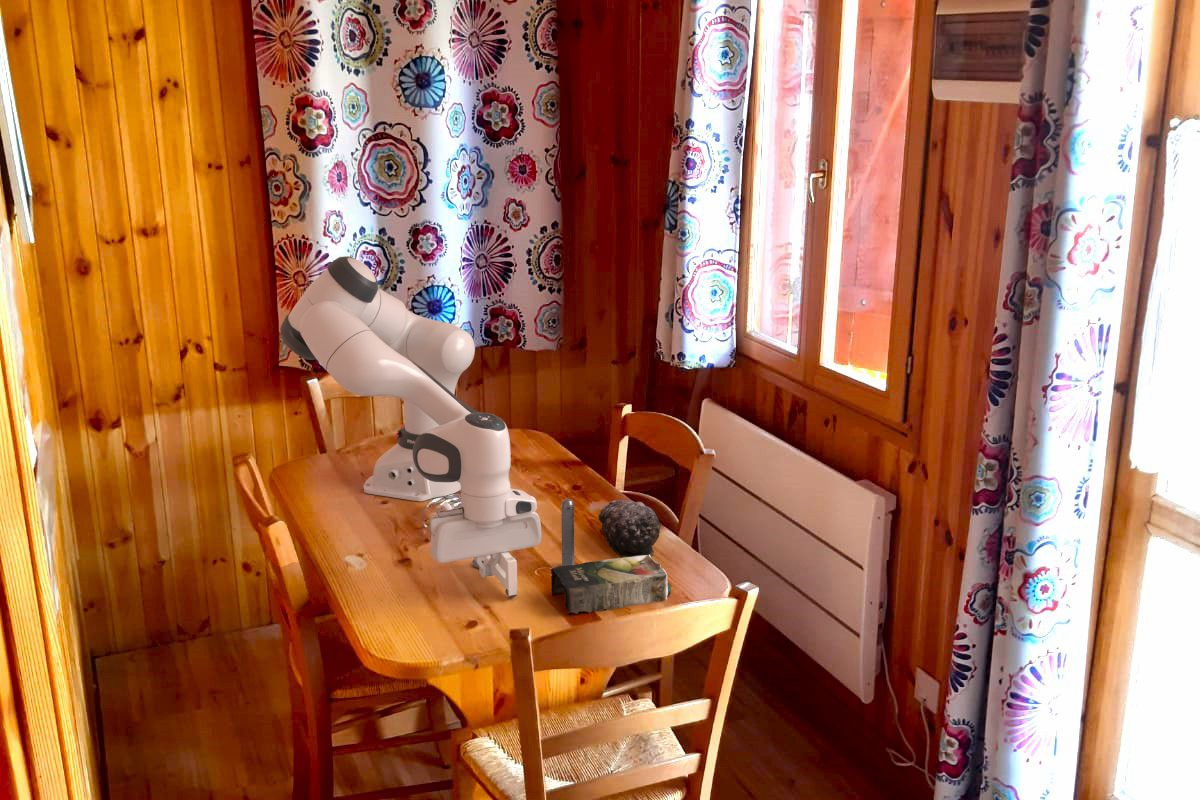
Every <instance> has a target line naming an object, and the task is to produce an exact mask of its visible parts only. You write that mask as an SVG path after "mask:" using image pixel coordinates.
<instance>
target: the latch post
mask: <svg viewBox="0 0 1200 800" xmlns="http://www.w3.org/2000/svg"><path fill="white" fill-rule="evenodd" d="M560 507H561V515H560V516H561V517H560V518H561V566H566V565H575V503H574V501H573V499H571V498H565V499H563V500H562V502H561V505H560Z"/></svg>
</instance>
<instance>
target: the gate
mask: <svg viewBox="0 0 1200 800" xmlns="http://www.w3.org/2000/svg"><path fill="white" fill-rule="evenodd" d="M490 557H491V556H490V555H485V556H484V561H483V562H484V565H485V564H487V563H488V561H489V559H490ZM517 562H518V561H517V560H516V558H515V557H513V556H512V554H511V553H510V551H507V552H501V553H500V559H499V561H498V562H497V564H496V566H495V567H494V575H493V576H494V578H496V579H497V580H498V582H499V583H500V584H501V585H502V586H503V587H504V589H505V595H506V596H507V598H510V599H514V598H516V597H517V596H518V594H519V590H518V563H517Z"/></svg>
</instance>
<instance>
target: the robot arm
mask: <svg viewBox="0 0 1200 800" xmlns="http://www.w3.org/2000/svg"><path fill="white" fill-rule="evenodd" d="M279 331H280V336H281V337H280V338H281V339H282V342H283V343H284V344H285V345H286V347H287V348H288V349H290V351H291V352H293V354H296V355H297V356H298V357H300V358H303V359H305V360H307V361H308V360H309V361H312V360H315V361H316V360H317V362H319V364H320V365H321V366H322V368H323V369H324V370H326V372H327V373H328V374H329V375H330V376H331V377H332V378H333V380H335V382H336V383H337V384H338V385H339V386H341V387H342V388H344V389H345V390H346V391H348V392H350V394H354V395H355V396H360V397H391V398H398V399H401V400H402V399H403V416H404V423H403V424H402V425H401V426H400V428H399V429H398V430H397V431H396V433H395V434H394V436H395V437H394V439H395V440H397V443H395V444H394V445H393V446H392V447H391V448H389V449H388V450H386V451H385V452H384V453H383V454H382V455H381V456H379V458H377V460H376V462H375V464H374V467H373V473H372V475H371V476H369V477H368V478H367V479H366V481H365V482H364V483H363V489H364V490H363V492H364V493H365V494H370V495H376V496H383V497H390V498H394V499H400V500H401V499H402V500H406V501H407V500H409V501H414V502H424V501H427V500H430V499H434V498H438V497H439V498H440V497H446V496H449V495H452V494H455V493H457V492H459V491H460V502H461V503H460V507H456V508H452V509H451V510H446V509H445V510H440V511H437V513H436V514H434V515H433V516H432V517H431V518H430V520H429V532H430V534H431V536H430V537H431V538H430V545H429V546H430V548H429V549H430V555H431V557H432V558H433V559H434V560H435V561H436V562H437V563H439V564H445V563H449V562H451V563H452V562H455V561H462V560H467V559H473V560H474V559H475V561H476V562H477V564H478V565H479V569H478V570H479V573H478V574H479V576H480V577H481V578H487V577H492V576H495V575H494V567H495V566H496V564H497V562H498V561H499V559H500V553H501V552H507V551H508V552H511V551H517V550H523V549H528V548H534V547H537V546H539V545H540V543H541V541H542V525H541V518H540V516H539V514H538V513H537V509H538V502H537V500H536V499H535V500H536V501H535V500H534V499H533V498H532V497H531V496H532V495H530V494H528V493H527V492H525V491H524V490H522V489H518V488H517V489H515V488H512V486H511V481H510V478H509V474H510V468H511V466H512V465H511V464H512V463H511V462H512V461H511V457H512V456H511V455H512V454H511V440H510V434H509V429H508V427H507V424H506V422H505V421H504V420H503V418H501V417H499V416H497V415H496V414H493V413H488V412H481V411H480V410H479V411H478V410H477V409H474V408H473V407H471V406H469V405H468V404H466V403H465V402H463V400H461V399H460V398H459V397H458V396H456V394H455V392H456V388H457V383H458V381H459V378H460V376H461V375H462V373H463V372H464V371H466V370H467V369H468V368H469V366H471V364H472V362H473V360H474V358H475V354H476V353H475V352H476V347H475V341H474V339H473V337H472V335H471V334H470V333H469V332H467V331H466V330H465V329H463V328H461V327H459V326H458V325H456V324H454V323H453V324H452V323H449V322H446V321H441V320H435V319H432V318H427V317H424V316H421V315H418V314H416V313H413V312H412V311H410V310H408V309H407V307H406V305H405V304H404V302H403V301H402V300H400V299H398V298H397V297H395V296H393V295H391V294H390V293H388V292H386V291H384V290H383V289H381V288H379V283H378V279H377V276H375V274H374V272H373V271H372V270H371V269H370V268H369V267H368V265H366V263H364V262H362V261H361V260H359V259H356V258H354V257H353V256H346V255H345V256H339V257H337V258H336V259H334V260H333V261H332V262H330V263H329V264H328V265H327V266H326V269H325V270H324V271H323V272H321V273H320V274H319V275H318V276H317V277H316V278H315V279H314V280H313V281H312V282H311V283H310V284H309V285H308V287H307V288H306V289H305V292H304V293H303V294H302V295H301V296H300V297H299V300H298V301H297V302H296V303H295V305H294V307H293V308H292V309H291V310H290V313H288V314H286V316H285V317H284V319H283V321H282V323H281V325H280V328H279ZM485 555H490V556H491V557H490V559H489V561H488V563H487V564H485V565H484V564H483V563H482V561H484V556H485Z"/></svg>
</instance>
